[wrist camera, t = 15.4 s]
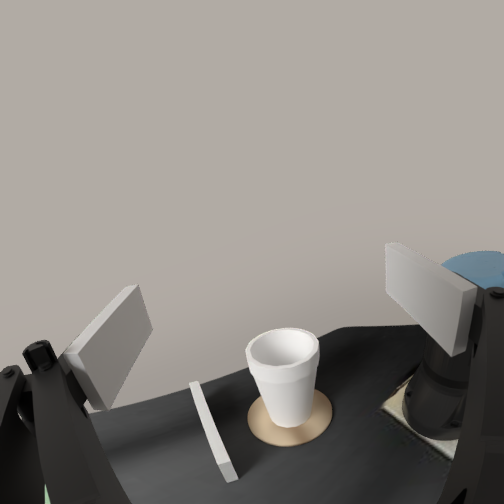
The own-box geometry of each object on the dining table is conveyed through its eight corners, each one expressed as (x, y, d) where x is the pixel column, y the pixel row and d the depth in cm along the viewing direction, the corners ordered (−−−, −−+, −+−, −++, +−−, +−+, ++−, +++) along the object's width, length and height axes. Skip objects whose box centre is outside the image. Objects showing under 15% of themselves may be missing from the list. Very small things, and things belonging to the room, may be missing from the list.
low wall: (205, 401, 45) (198, 380, 44) (238, 479, 28) (230, 460, 27) (196, 403, 44) (188, 383, 43) (227, 482, 28) (217, 464, 27)
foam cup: (276, 444, 33) (263, 379, 30) (250, 407, 41) (235, 342, 38) (333, 416, 36) (333, 348, 33) (302, 385, 45) (295, 321, 41)
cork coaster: (306, 378, 47) (305, 376, 47) (348, 421, 35) (348, 418, 35) (237, 405, 43) (236, 402, 43) (267, 459, 31) (267, 457, 31)
